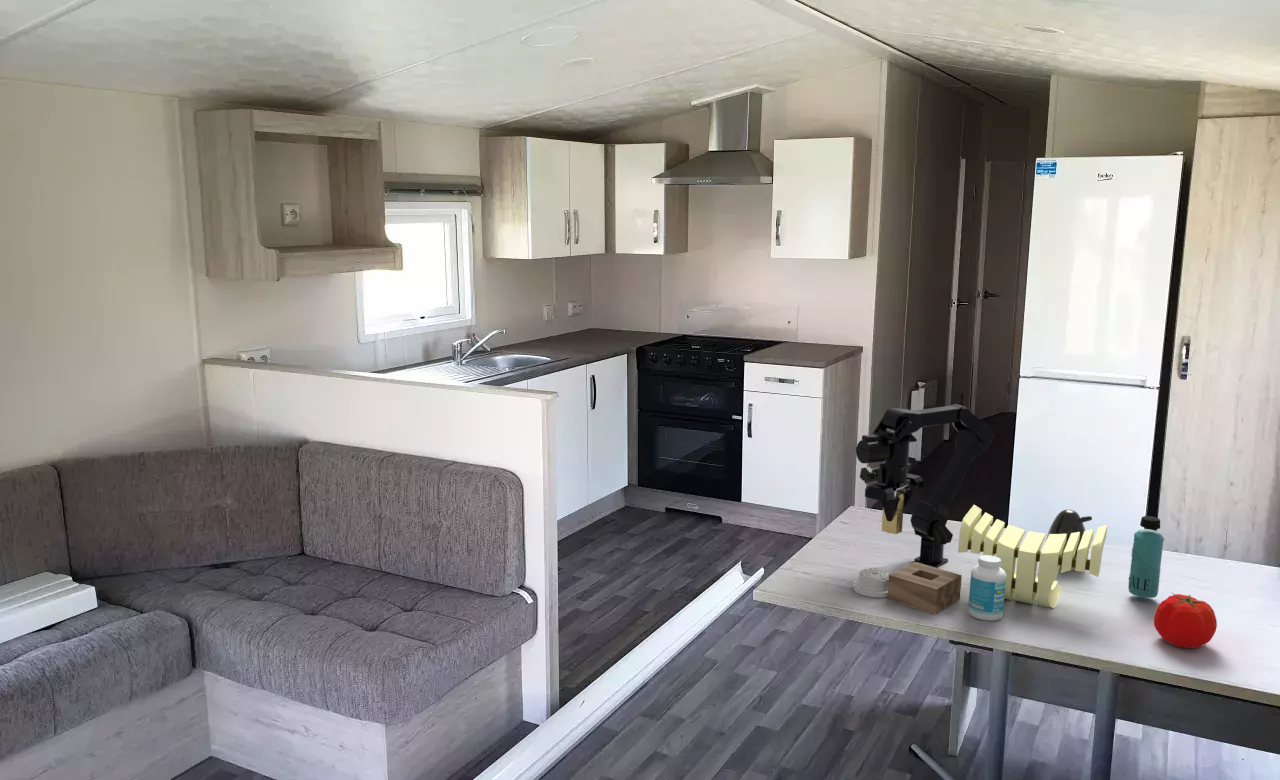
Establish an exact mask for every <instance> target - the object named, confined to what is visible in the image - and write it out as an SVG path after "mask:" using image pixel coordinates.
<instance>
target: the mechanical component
mask: <svg viewBox="0 0 1280 780" xmlns="http://www.w3.org/2000/svg"><path fill="white" fill-rule="evenodd" d="M890 574H891V573H890V572H887V570H883V569H880V568H874V567H870V568H864V569H863V570H860V571H859V572H858V578H857V579H855V580H854V581H853V584H852V588H853V591H854V592H856V593H857V594H859V595H861V596H862V595H863V596H865V597H869V598H883V599H884V598H888V586H889V575H890Z"/></svg>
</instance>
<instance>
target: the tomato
mask: <svg viewBox="0 0 1280 780" xmlns="http://www.w3.org/2000/svg"><path fill="white" fill-rule="evenodd" d="M1171 594H1172V595H1170V596H1168V597H1167V598H1166V599H1164V600H1162V601H1161V602H1160V603H1159V604H1157V606H1156V609H1155V613H1154V615H1153V616H1154V617H1153V625H1154V628H1155V631H1156V632H1157V633H1158V635H1159V636H1160V637H1161V638H1162V639H1163V640H1165V641H1166V642H1168V643H1170V644H1172V645H1173V646H1176V647H1177V648H1178V647H1179V648H1187V649H1195V648H1200V647H1202V646H1205V645H1206V644H1208V643H1209V642H1211V640H1212V639H1213V637H1214V635H1215V633H1216V632H1217V627H1218V625H1217V624H1218V623H1217V617H1216V613H1215V611H1214V609H1213V607H1212V606H1211V605H1210V604H1209V603H1208V602H1207V601H1205V600H1198V599H1197V598H1195V597H1193V596H1191V594H1188V595H1186V594H1180V593H1178V594H1175V593H1173V592H1171Z"/></svg>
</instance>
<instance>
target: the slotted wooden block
mask: <svg viewBox="0 0 1280 780" xmlns="http://www.w3.org/2000/svg"><path fill="white" fill-rule="evenodd" d="M962 578H963V575H962V574H959V573H955V572H952V571H948V570H945V569H941V568H938V567H934V566H931V565H927V564H924V563H920V562H917V561H913V562H912V563H910V564H908V565H906V566H904V567H902V568H900V569H898V570H896V571H894V572H892V573H890V575H889V586H888V597H887V600H889V601H892V602H896V603H898V604H901V605H905V606H908V607H911V608H913V609H917V610H921V611H924V612H927V613H929V612H930V614H933V615H936V614H938V613H940V612H942V611H943V610H945V609H946V608H948V607H950V606H952V605H953V604H956V602H958V601H960V600H961V591H962V580H963V579H962Z"/></svg>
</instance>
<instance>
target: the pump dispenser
mask: <svg viewBox="0 0 1280 780" xmlns="http://www.w3.org/2000/svg"><path fill="white" fill-rule="evenodd" d="M1092 520H1093V516H1090V515H1089V516H1080V515H1079V513H1078V512H1076V511H1075V510H1073V509H1063V510H1062V511H1060V512H1059V513H1058V514H1057V515H1056V516H1055V518H1054V519H1053V521H1052V523H1051V525H1050V527H1049V529H1048V532H1047V535H1046V537H1045V542H1044V544H1045V543H1046V541H1047V539H1048V536H1049V534H1067V537H1066V543H1065V545H1064V548H1063V552H1064V550H1065V547H1066V545H1067V542H1068V540H1069V537H1070V535H1071V533H1076V532H1080V538H1079V542H1078V545H1077V548H1076V552H1075V556H1074V557H1077V550H1078V547H1079V545H1080V542H1081V539H1082V536H1083V534H1084V531H1086V529H1085V526H1084V523H1086V522H1089V521H1092ZM1063 552H1062V555H1063ZM1061 569H1062V566H1061V565H1059V570H1061ZM1071 571H1075V568H1073V567H1072V568H1071Z"/></svg>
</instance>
